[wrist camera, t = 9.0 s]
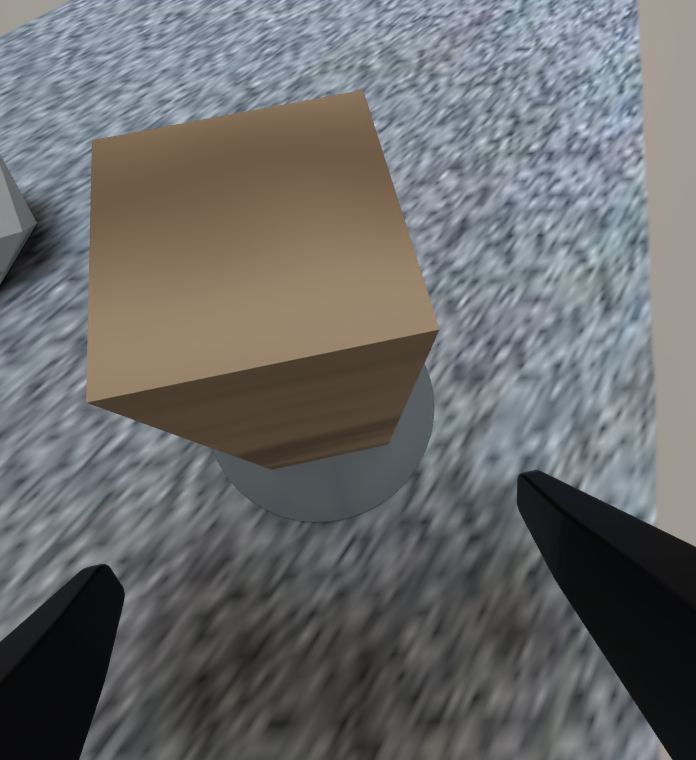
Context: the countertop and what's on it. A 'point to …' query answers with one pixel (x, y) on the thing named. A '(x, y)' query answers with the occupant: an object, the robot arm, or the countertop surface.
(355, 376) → the walnut block
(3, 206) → the die
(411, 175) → the countertop surface
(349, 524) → the countertop surface
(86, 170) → the countertop surface
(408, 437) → the slate coaster
